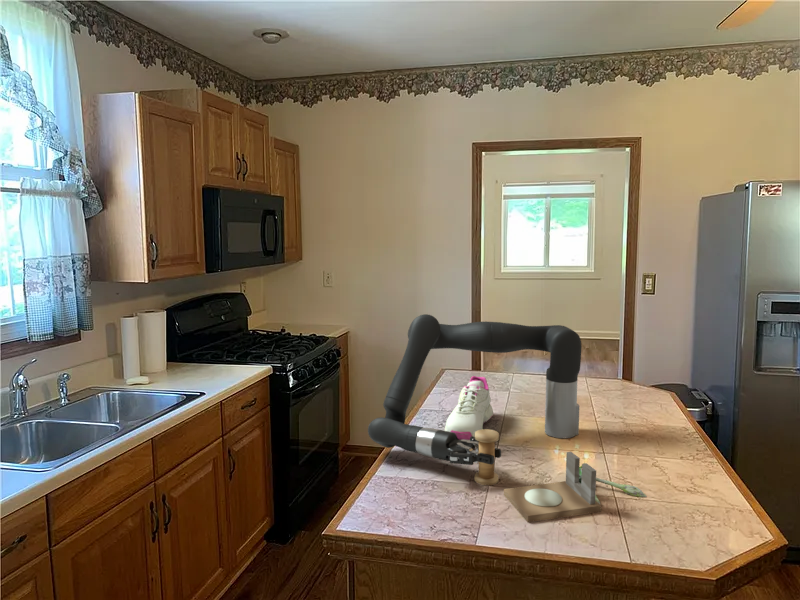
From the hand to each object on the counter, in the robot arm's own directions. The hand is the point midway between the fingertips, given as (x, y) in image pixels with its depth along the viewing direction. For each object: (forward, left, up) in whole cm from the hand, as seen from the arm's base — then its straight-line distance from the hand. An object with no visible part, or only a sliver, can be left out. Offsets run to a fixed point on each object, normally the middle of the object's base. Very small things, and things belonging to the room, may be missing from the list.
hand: (496, 456), depth 144 cm
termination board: (-8, +13, -7) cm, 17 cm away
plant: (-24, +12, -8) cm, 28 cm away
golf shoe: (-7, -36, -7) cm, 37 cm away
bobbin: (+2, -2, -7) cm, 7 cm away
